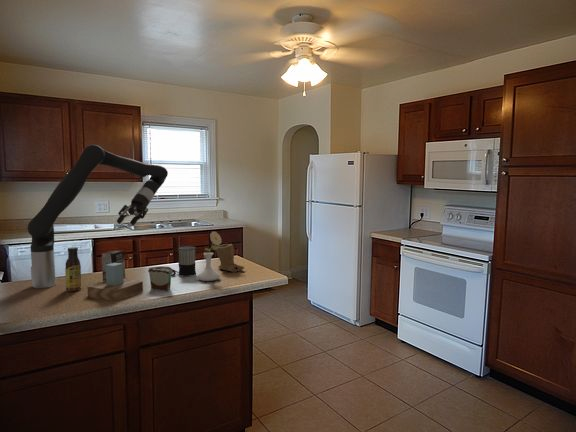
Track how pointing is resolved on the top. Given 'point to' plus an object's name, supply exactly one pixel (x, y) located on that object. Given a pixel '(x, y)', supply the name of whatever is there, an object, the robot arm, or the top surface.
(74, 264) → the sauce bottle
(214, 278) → the flower in vase
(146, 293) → the top surface
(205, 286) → the top surface
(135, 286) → the walnut block
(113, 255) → the coffee box
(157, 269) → the food container
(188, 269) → the milk frother
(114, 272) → the slate block
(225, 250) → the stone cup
